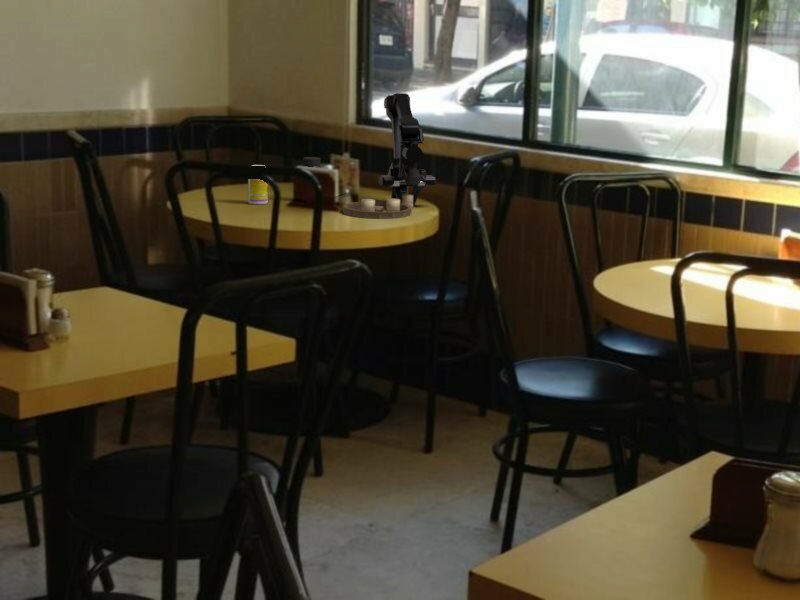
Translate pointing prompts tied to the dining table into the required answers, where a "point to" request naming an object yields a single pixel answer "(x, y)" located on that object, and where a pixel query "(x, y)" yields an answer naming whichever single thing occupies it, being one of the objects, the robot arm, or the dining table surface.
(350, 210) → the tray
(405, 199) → the loose bead
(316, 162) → the deodorant
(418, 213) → the dining table surface
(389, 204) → the bead
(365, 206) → the bead
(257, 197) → the supplement bottle
